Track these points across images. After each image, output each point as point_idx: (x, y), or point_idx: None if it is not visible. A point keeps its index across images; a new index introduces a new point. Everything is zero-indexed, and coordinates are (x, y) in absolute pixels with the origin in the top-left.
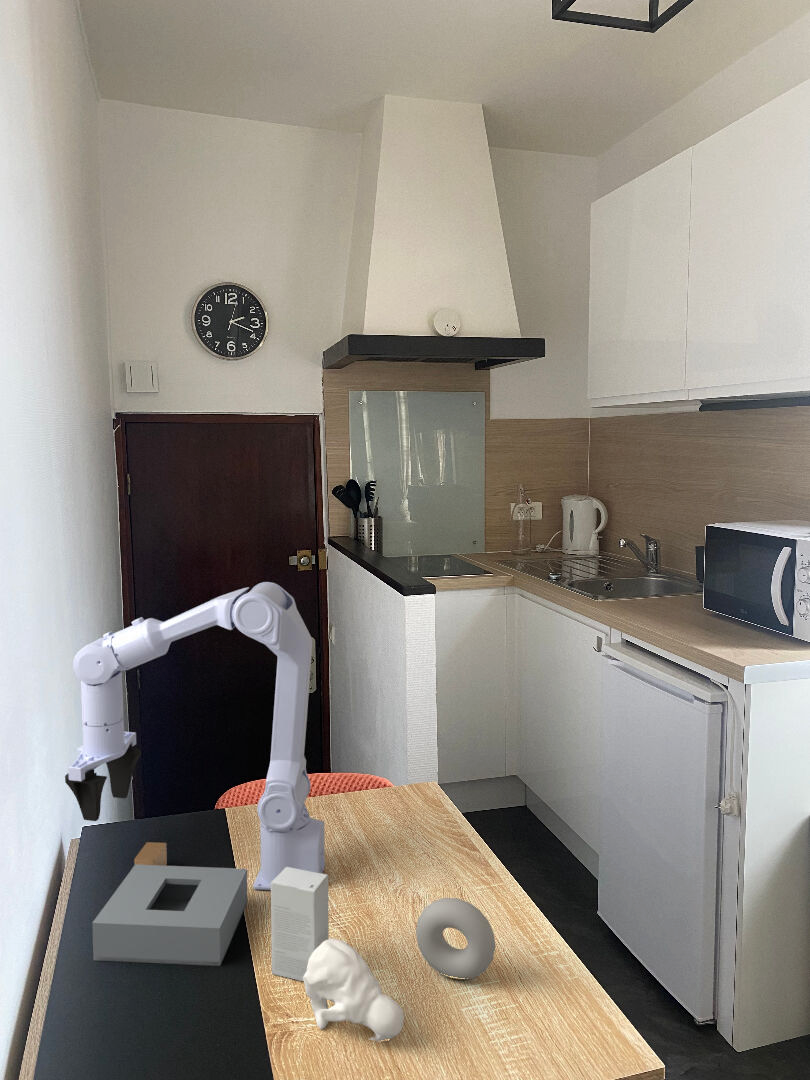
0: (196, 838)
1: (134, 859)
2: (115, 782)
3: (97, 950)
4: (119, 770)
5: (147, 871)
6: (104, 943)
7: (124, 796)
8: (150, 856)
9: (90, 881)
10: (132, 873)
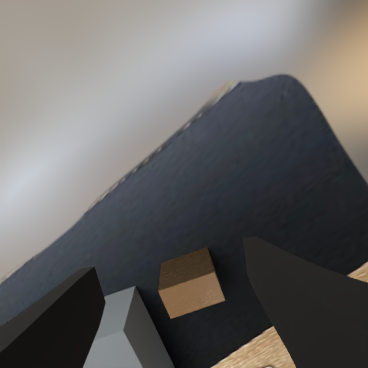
0: (302, 256)
1: (158, 290)
2: (269, 281)
3: None
4: (309, 355)
5: (115, 358)
6: None
7: (249, 279)
8: (176, 307)
9: (138, 203)
10: (98, 345)
